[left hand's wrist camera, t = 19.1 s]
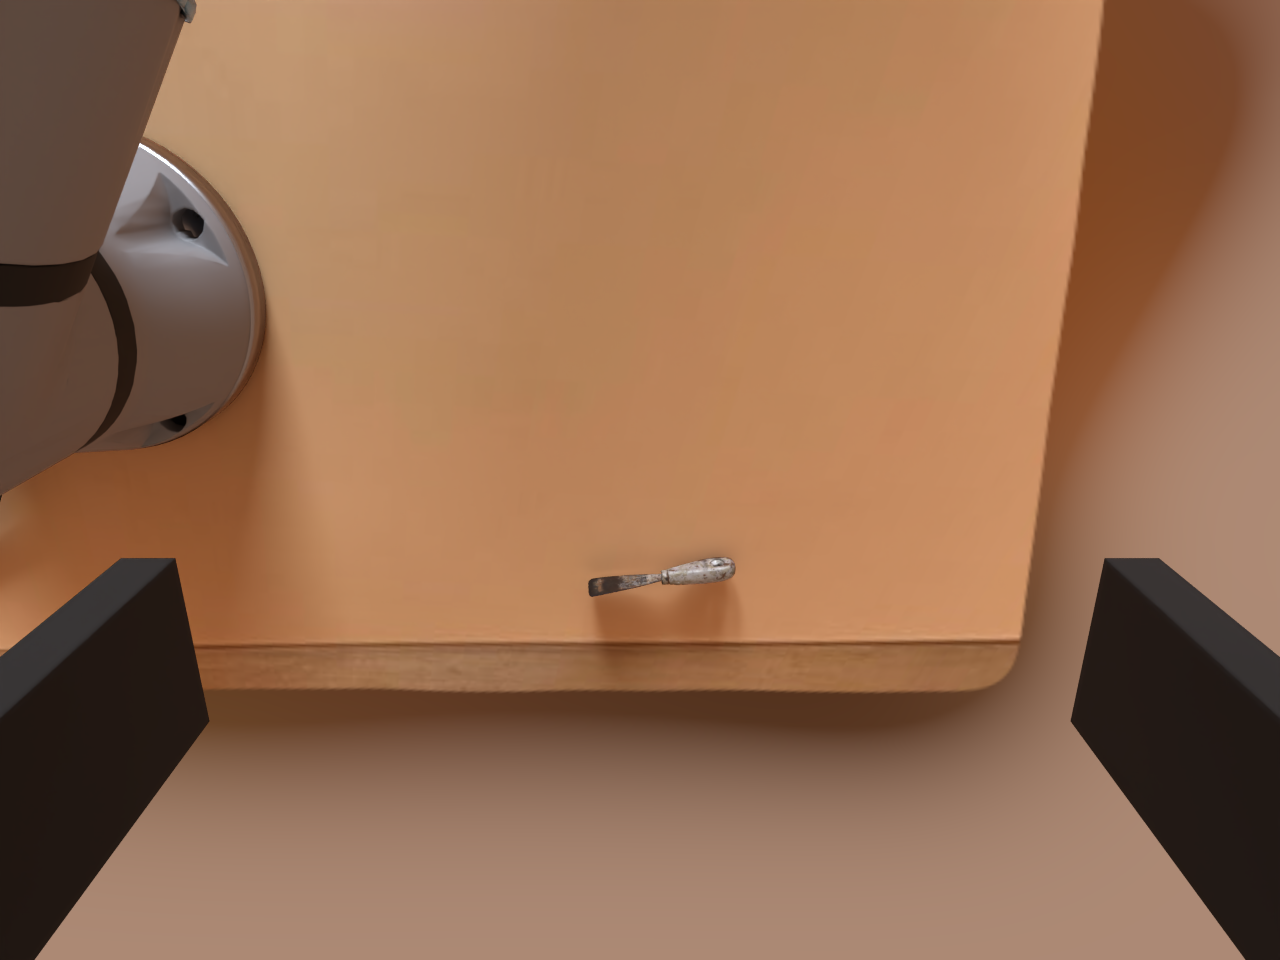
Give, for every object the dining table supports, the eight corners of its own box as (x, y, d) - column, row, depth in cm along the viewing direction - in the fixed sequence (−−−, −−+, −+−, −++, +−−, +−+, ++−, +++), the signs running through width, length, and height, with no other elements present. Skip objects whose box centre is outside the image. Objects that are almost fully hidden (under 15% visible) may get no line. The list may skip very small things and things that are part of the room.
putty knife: (735, 568, 49) (738, 583, 47) (591, 591, 49) (589, 606, 48) (732, 552, 48) (735, 566, 47) (587, 574, 49) (586, 589, 47)
